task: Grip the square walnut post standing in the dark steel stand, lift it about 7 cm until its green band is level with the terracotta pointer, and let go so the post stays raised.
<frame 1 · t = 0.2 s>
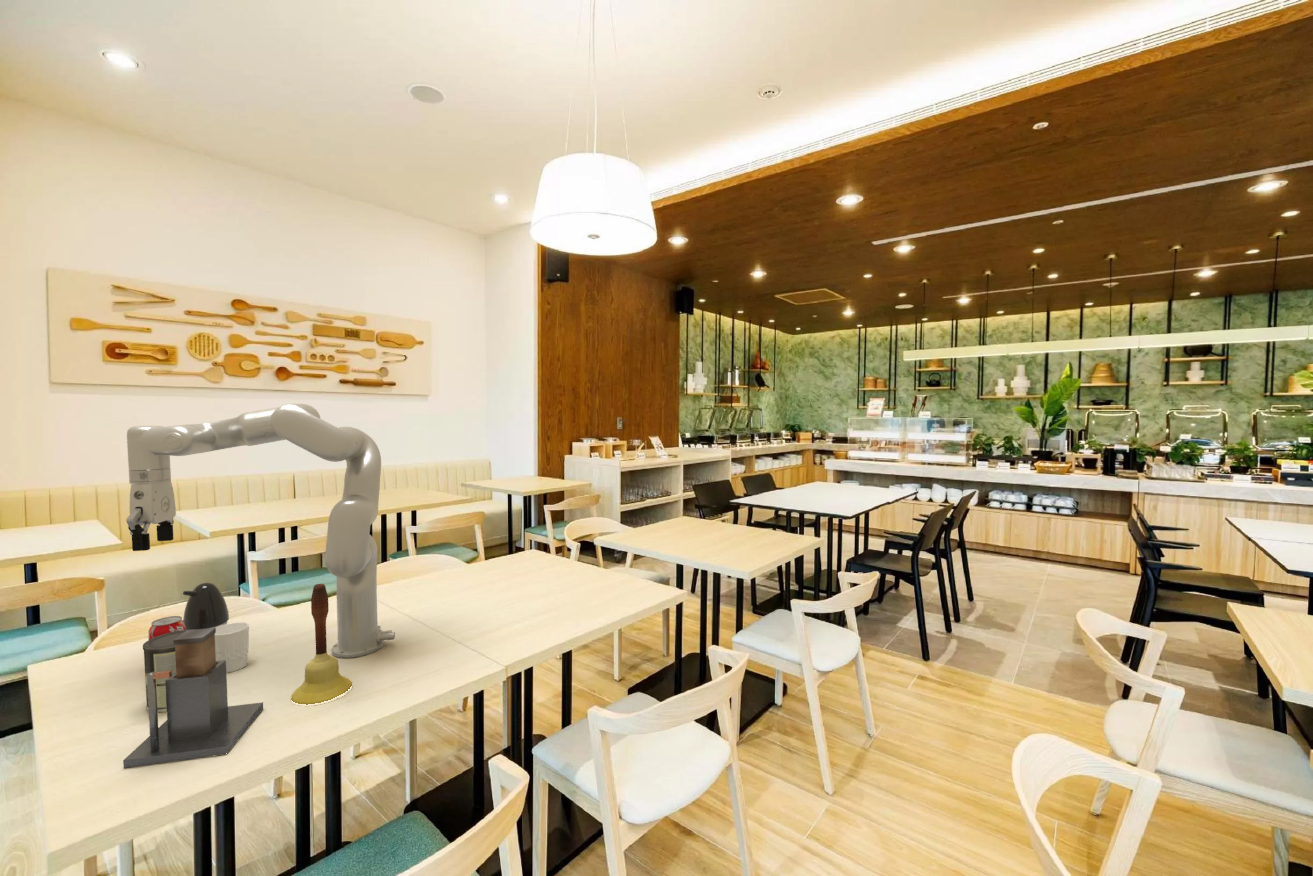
hand: (153, 545, 136), 31 cm above the table, tool pointing down, fingers open, 9 cm apart
coffee can: (177, 701, 123), on the table
steel stand: (199, 736, 109), on the table
walnut post: (197, 680, 109), point 11 cm above the table, slide at 0.0 cm
soda can: (169, 667, 138), on the table
handbell: (322, 692, 127), on the table
white cup: (231, 668, 138), on the table
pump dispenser: (206, 636, 157), on the table
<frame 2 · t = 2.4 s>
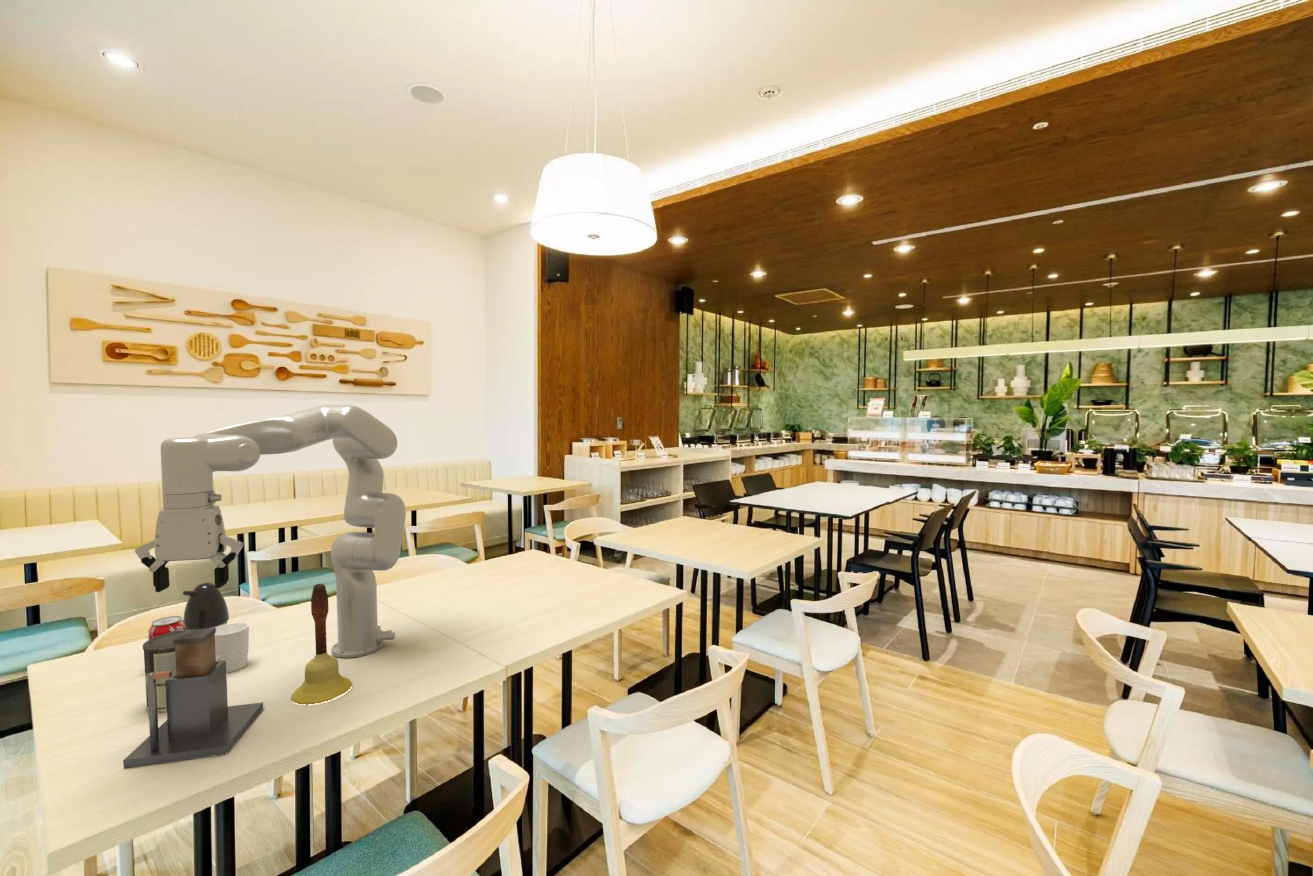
hand: (192, 588, 108), 30 cm above the table, tool pointing down, fingers open, 9 cm apart
nothing on the table moved.
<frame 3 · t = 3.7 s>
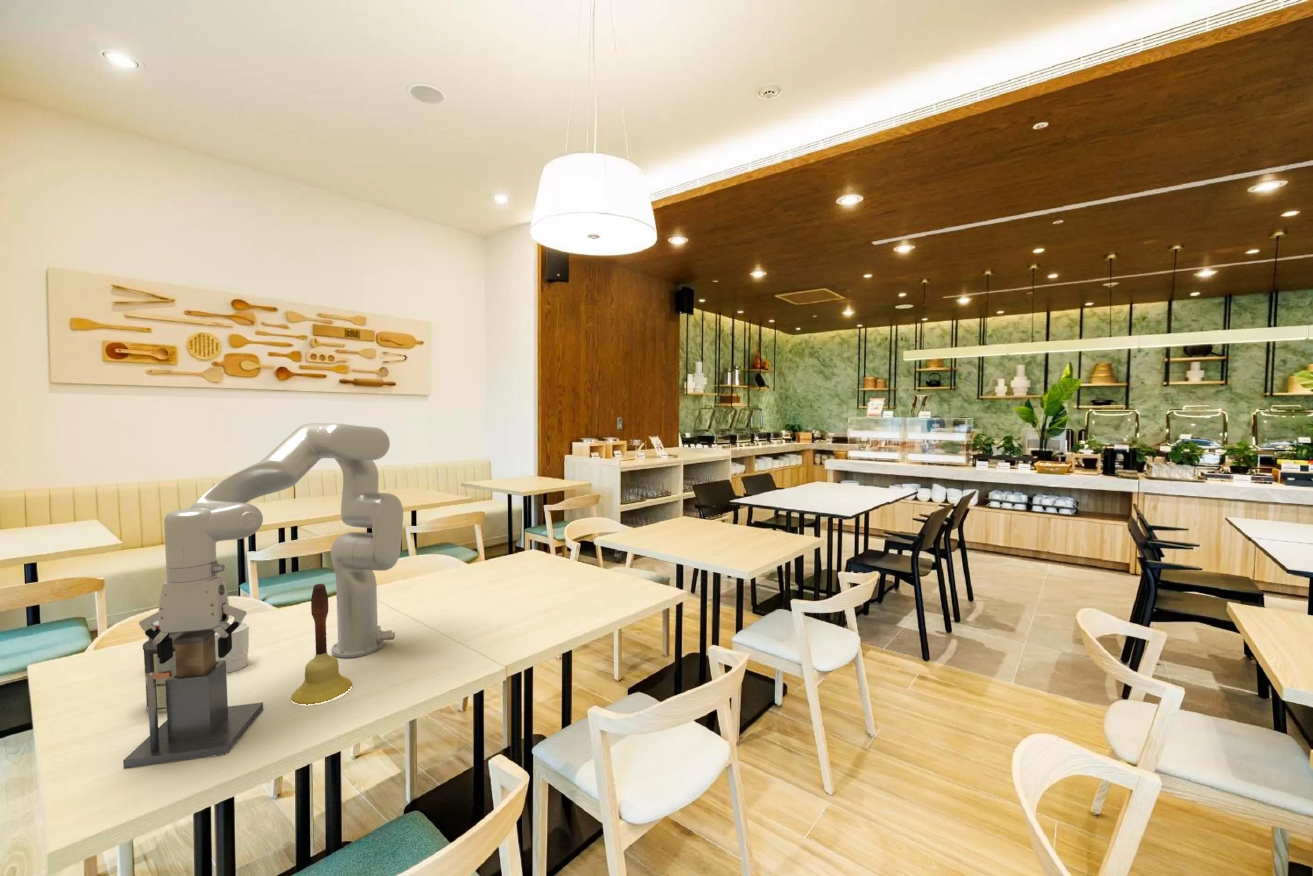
hand: (195, 657, 108), 16 cm above the table, tool pointing down, fingers open, 9 cm apart
nothing on the table moved.
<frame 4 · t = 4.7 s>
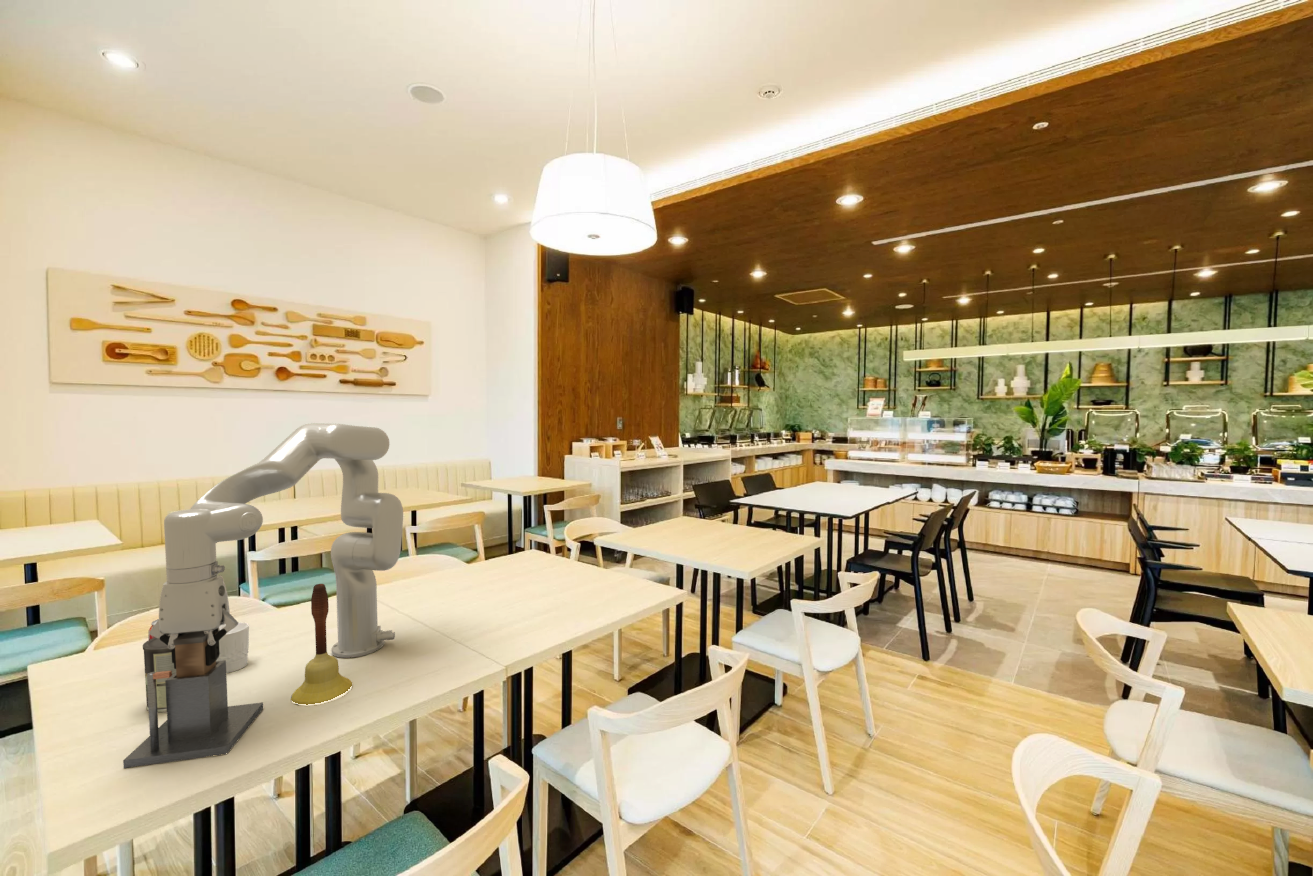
hand: (196, 663, 109), 15 cm above the table, tool pointing down, fingers closed on walnut post, 4 cm apart
walnut post: (197, 680, 109), point 11 cm above the table, slide at 0.0 cm, touching gripper
everything else where it was.
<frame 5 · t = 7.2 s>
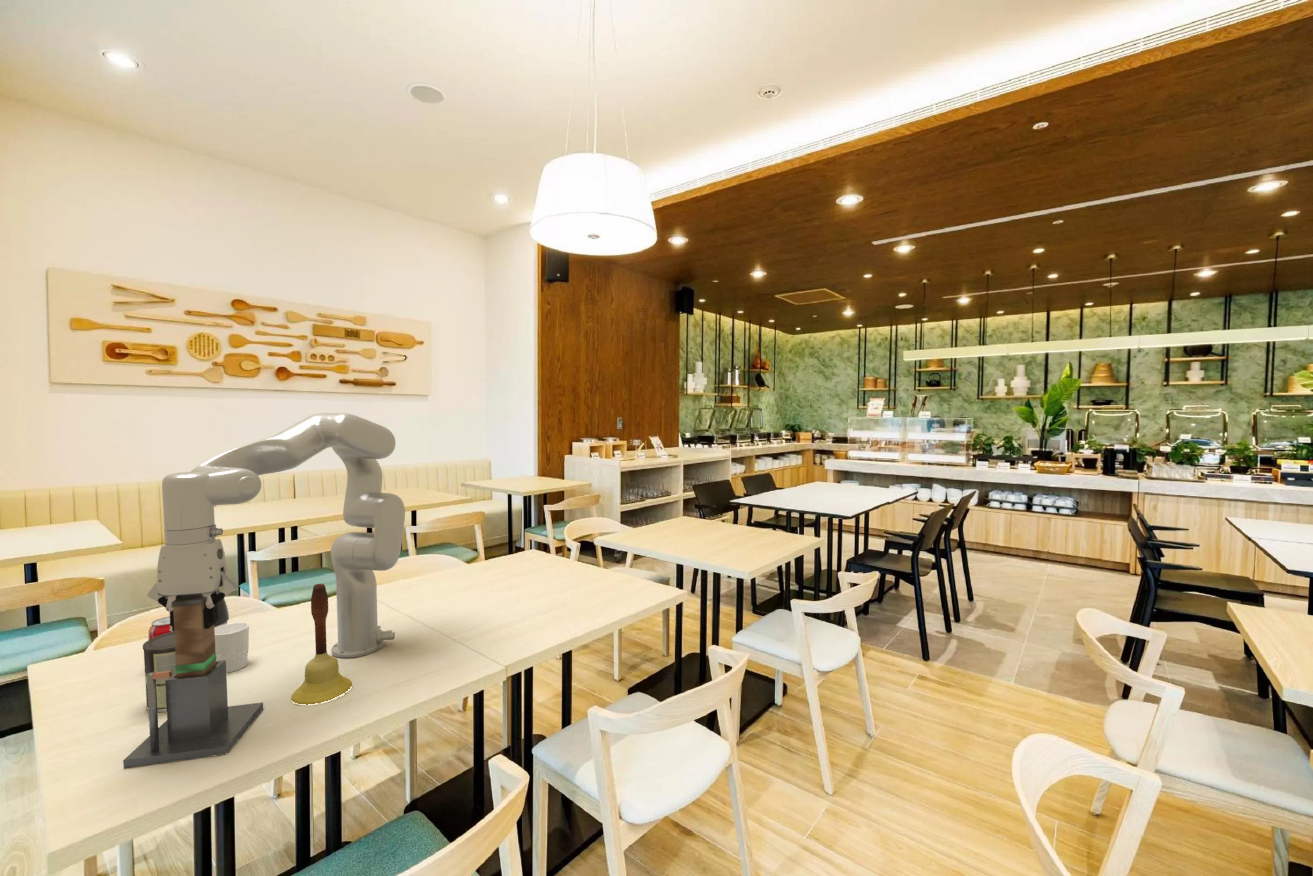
hand: (194, 626, 108), 22 cm above the table, tool pointing down, fingers closed on walnut post, 4 cm apart
walnut post: (195, 644, 108), point 19 cm above the table, slide at 7.4 cm, touching gripper
everything else where it was.
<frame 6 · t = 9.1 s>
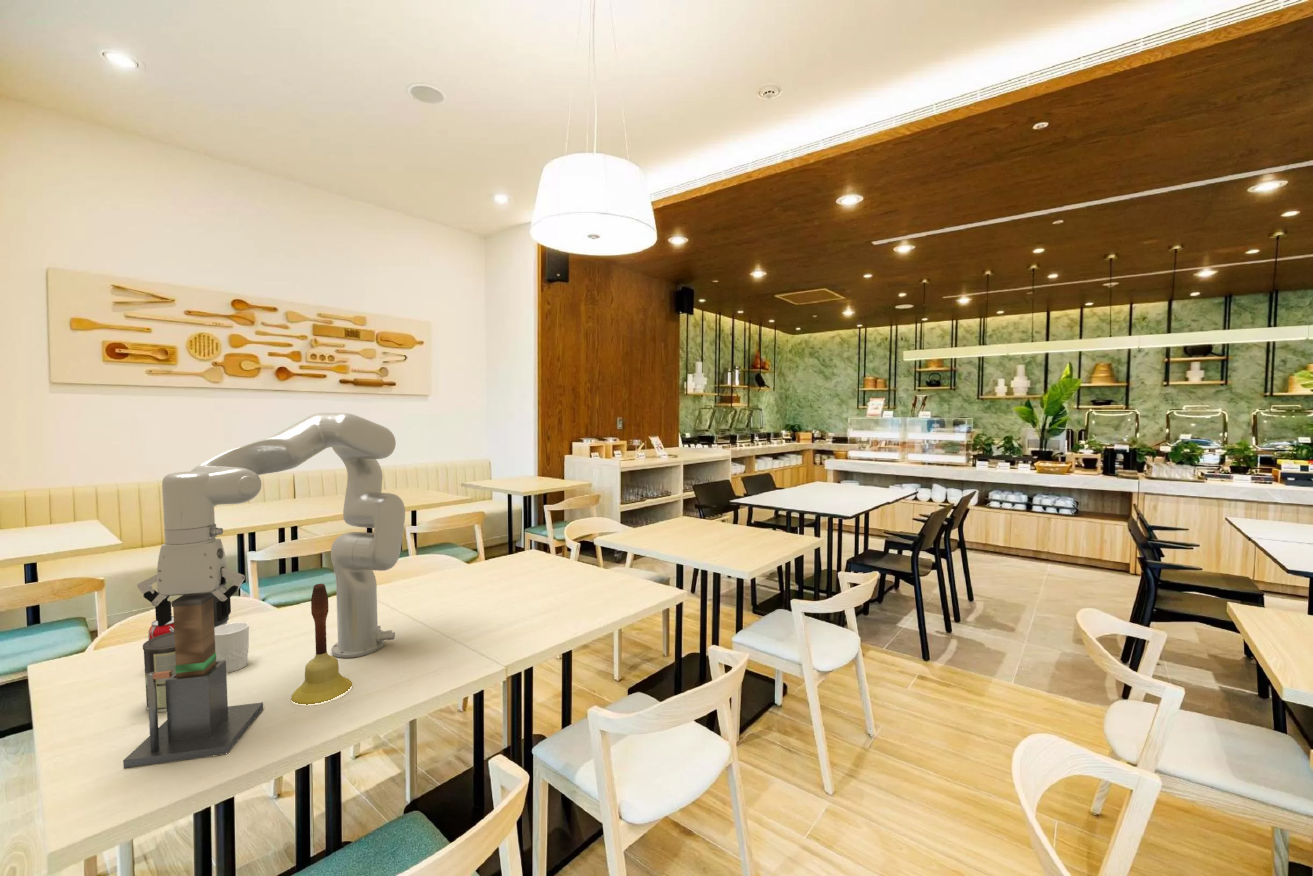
hand: (194, 621, 108), 23 cm above the table, tool pointing down, fingers open, 9 cm apart
walnut post: (195, 644, 108), point 19 cm above the table, slide at 7.5 cm
everything else where it was.
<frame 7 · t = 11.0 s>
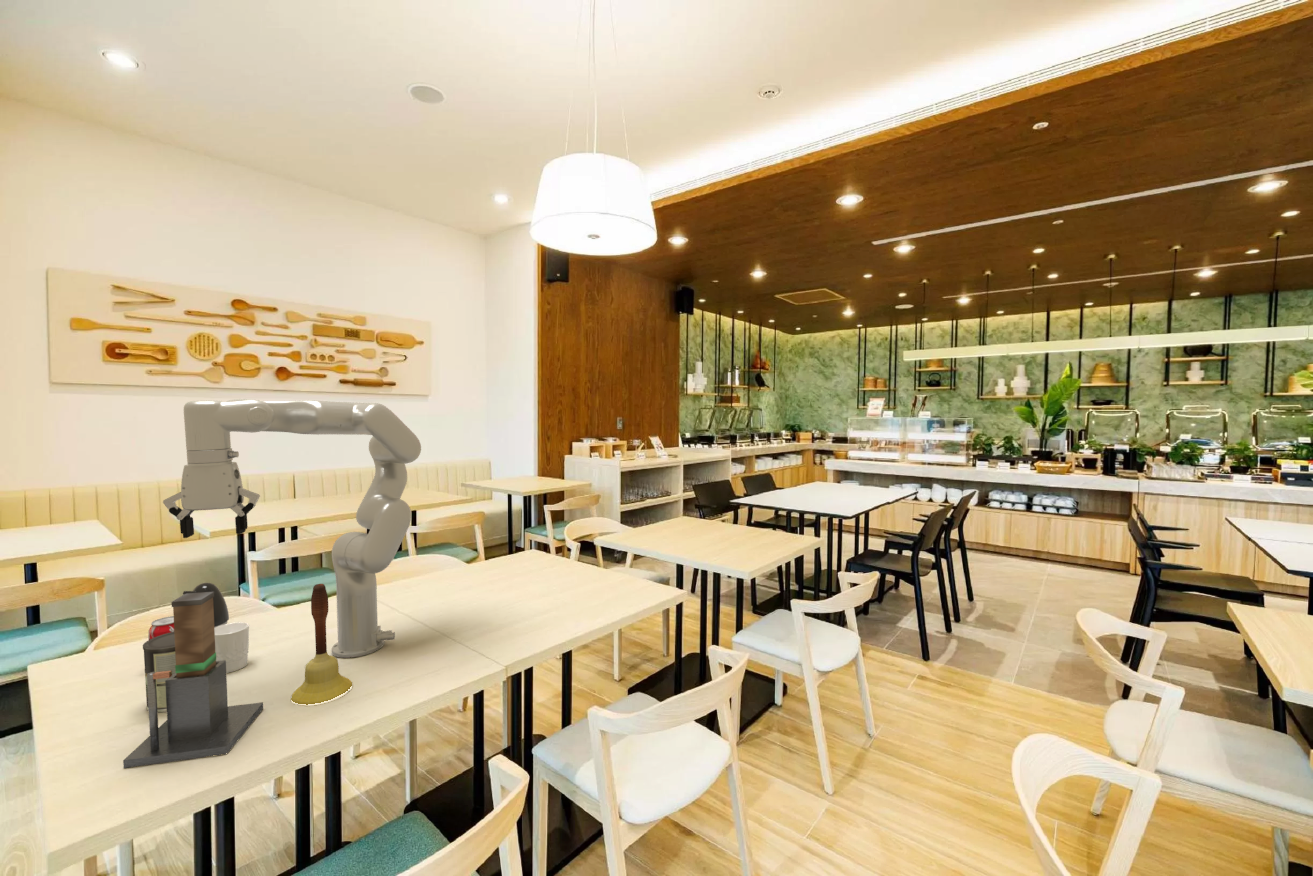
hand: (215, 534, 121), 37 cm above the table, tool pointing down, fingers open, 9 cm apart
nothing on the table moved.
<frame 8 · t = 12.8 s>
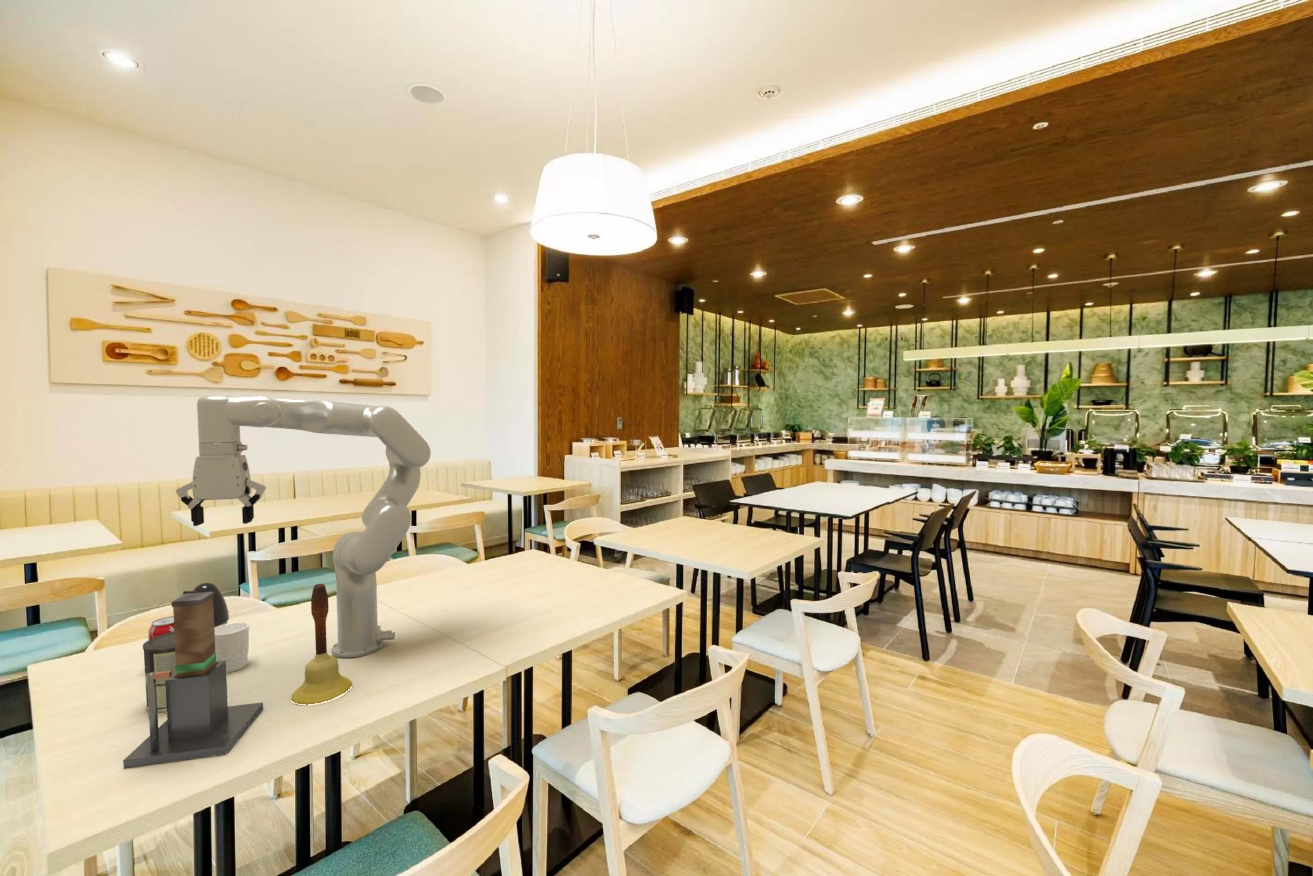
hand: (223, 523, 127), 38 cm above the table, tool pointing down, fingers open, 9 cm apart
nothing on the table moved.
at the end: walnut post slide at 7.5 cm; the gripper is holding nothing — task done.
